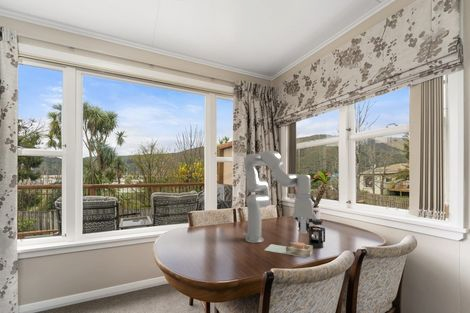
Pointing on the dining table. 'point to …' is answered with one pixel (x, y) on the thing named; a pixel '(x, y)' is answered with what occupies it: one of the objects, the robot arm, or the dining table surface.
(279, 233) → the dining table surface
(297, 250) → the frame
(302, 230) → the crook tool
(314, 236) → the french press
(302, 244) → the block
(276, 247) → the mat
